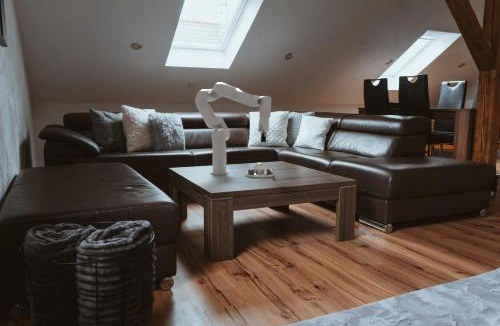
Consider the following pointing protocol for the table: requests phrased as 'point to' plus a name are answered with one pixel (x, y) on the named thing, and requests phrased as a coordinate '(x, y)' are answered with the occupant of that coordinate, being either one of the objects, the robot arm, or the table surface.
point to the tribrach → (258, 172)
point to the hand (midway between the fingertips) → (263, 142)
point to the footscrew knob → (269, 171)
